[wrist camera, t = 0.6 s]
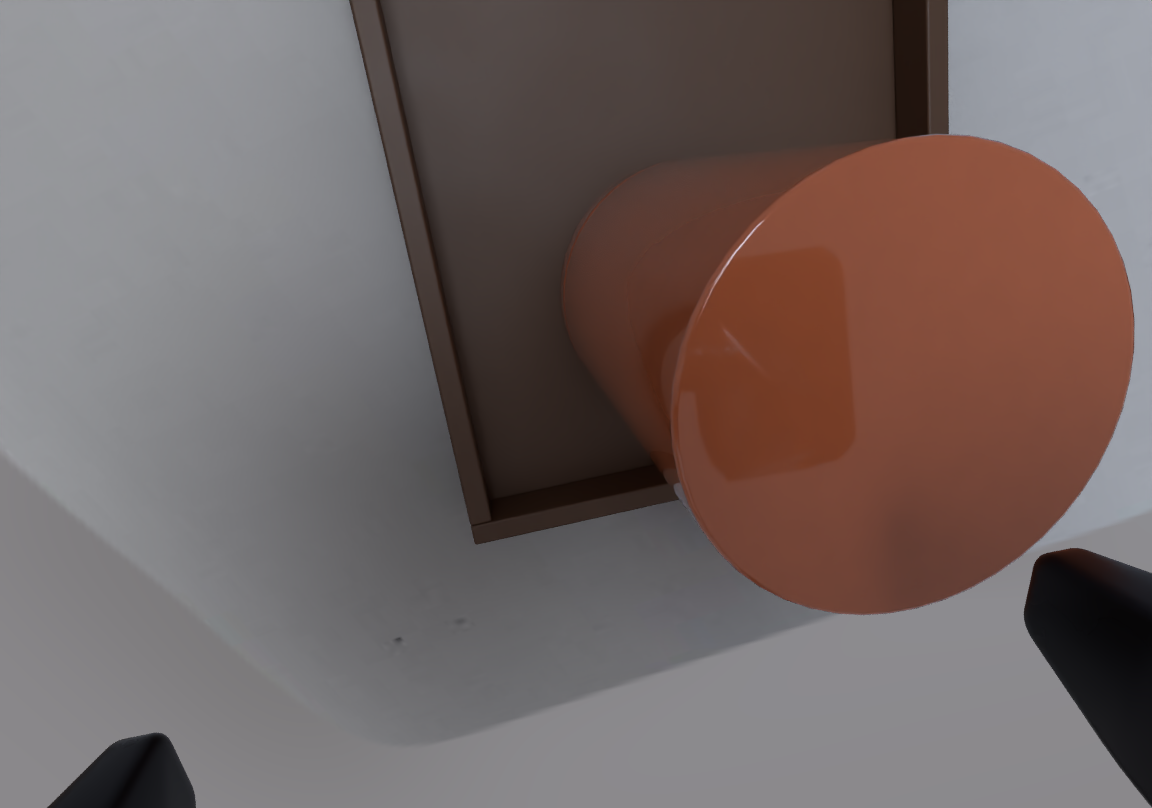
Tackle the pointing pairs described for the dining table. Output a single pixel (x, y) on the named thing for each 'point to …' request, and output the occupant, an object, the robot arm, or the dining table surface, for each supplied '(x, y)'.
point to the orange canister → (858, 355)
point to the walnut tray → (593, 187)
